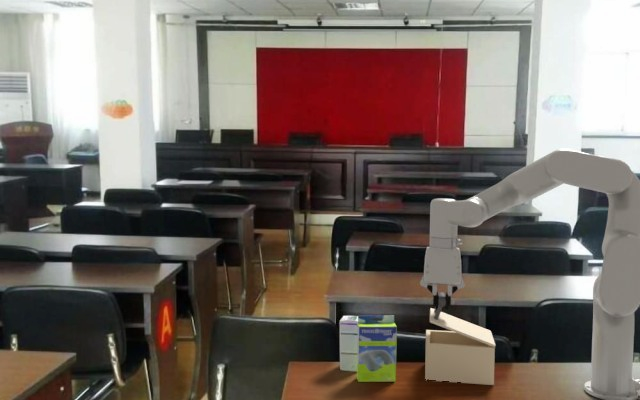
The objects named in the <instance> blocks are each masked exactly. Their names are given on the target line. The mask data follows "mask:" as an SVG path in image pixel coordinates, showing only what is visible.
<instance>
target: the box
mask: <svg viewBox="0 0 640 400" xmlns="http://www.w3.org/2000/svg"><path fill="white" fill-rule="evenodd" d="M357 316H358V324H357V330H358V339H357V371H356V380H357V382H358V383H362V382H363V383H372V382H373V383H376V382H378V383H379V382H383V383H384V382H394V383H395V382H396V381H397V380H396V378H397V377H396V376H397V345H398V344H397V342H398V341H397V339H398V337H397V336H398V335H397V334H398V333H397V331H398V329H397V328H398V327H397V325H396V323H395V315H393V314H390V315H389V314H388V315H387V314H386V315H385V314H384V315H380V314H378V315H376V314H375V315H373V314H372V315H371V314H370V315H357ZM376 318H377V319H381V320H372V319H376Z"/></svg>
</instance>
